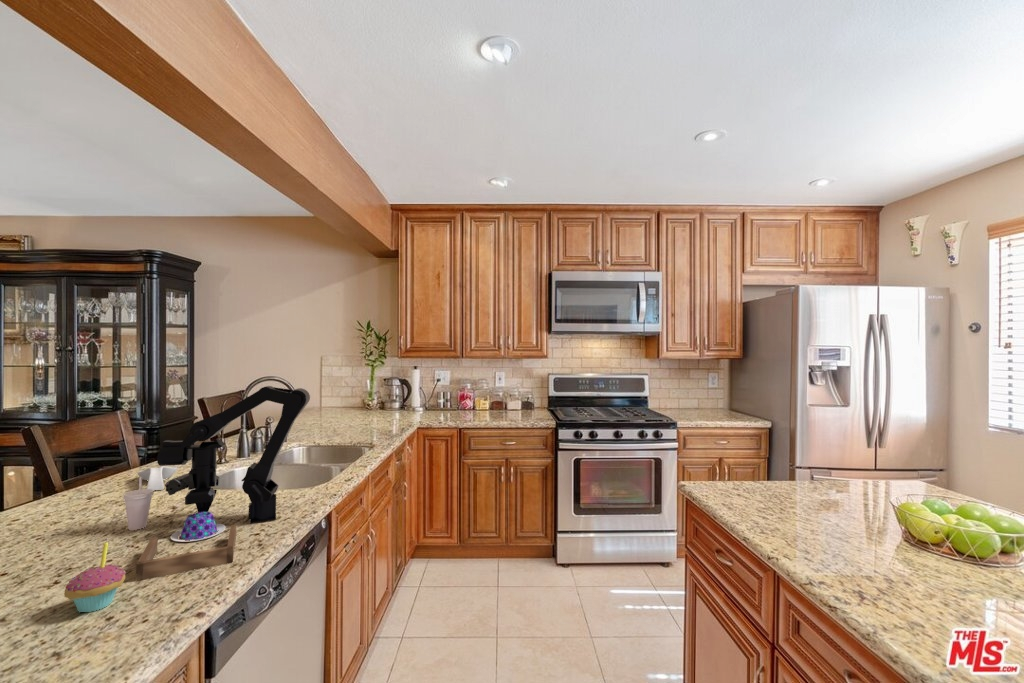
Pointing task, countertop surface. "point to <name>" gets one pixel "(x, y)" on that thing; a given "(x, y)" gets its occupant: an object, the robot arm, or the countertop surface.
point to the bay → (183, 559)
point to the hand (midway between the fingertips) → (202, 519)
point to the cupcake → (95, 585)
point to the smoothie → (138, 506)
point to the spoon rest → (157, 476)
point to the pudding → (198, 527)
